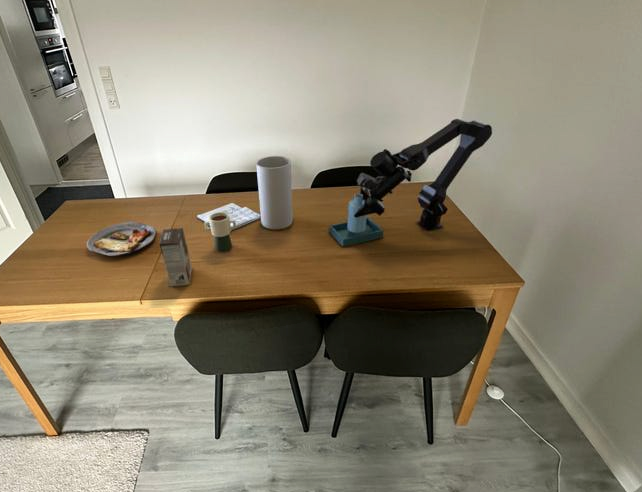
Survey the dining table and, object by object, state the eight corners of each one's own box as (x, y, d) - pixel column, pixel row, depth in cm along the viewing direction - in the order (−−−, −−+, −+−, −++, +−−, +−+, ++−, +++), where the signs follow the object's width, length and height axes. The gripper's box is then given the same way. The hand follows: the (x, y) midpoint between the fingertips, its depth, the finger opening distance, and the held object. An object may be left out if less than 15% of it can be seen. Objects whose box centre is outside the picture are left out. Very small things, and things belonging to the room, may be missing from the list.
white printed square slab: (222, 235, 145) (222, 230, 143) (196, 217, 158) (195, 213, 157) (261, 218, 154) (261, 214, 153) (234, 203, 167) (233, 198, 166)
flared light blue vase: (359, 222, 141) (362, 190, 133) (368, 230, 136) (371, 197, 128) (344, 226, 139) (345, 193, 132) (352, 234, 134) (354, 201, 127)
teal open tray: (366, 223, 145) (367, 217, 144) (382, 237, 137) (383, 230, 135) (329, 232, 142) (329, 225, 140) (342, 246, 133) (343, 239, 131)
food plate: (168, 233, 149) (166, 225, 146) (127, 265, 132) (124, 256, 130) (121, 223, 158) (118, 215, 156) (76, 251, 141) (73, 243, 139)
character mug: (239, 242, 140) (235, 210, 132) (238, 252, 134) (233, 220, 126) (210, 243, 140) (204, 212, 133) (207, 254, 134) (201, 222, 127)
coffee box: (173, 270, 127) (162, 228, 118) (192, 268, 127) (183, 227, 118) (169, 287, 120) (158, 244, 111) (190, 285, 120) (180, 242, 111)
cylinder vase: (256, 228, 148) (250, 166, 134) (268, 213, 157) (264, 155, 143) (286, 232, 144) (283, 169, 129) (296, 217, 153) (295, 157, 139)
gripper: (368, 156, 132) (335, 187, 139) (377, 177, 116) (340, 210, 124) (389, 177, 135) (356, 205, 143) (400, 199, 120) (362, 230, 127)
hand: (353, 212), depth 134 cm, fingers closed on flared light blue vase, 6 cm apart
